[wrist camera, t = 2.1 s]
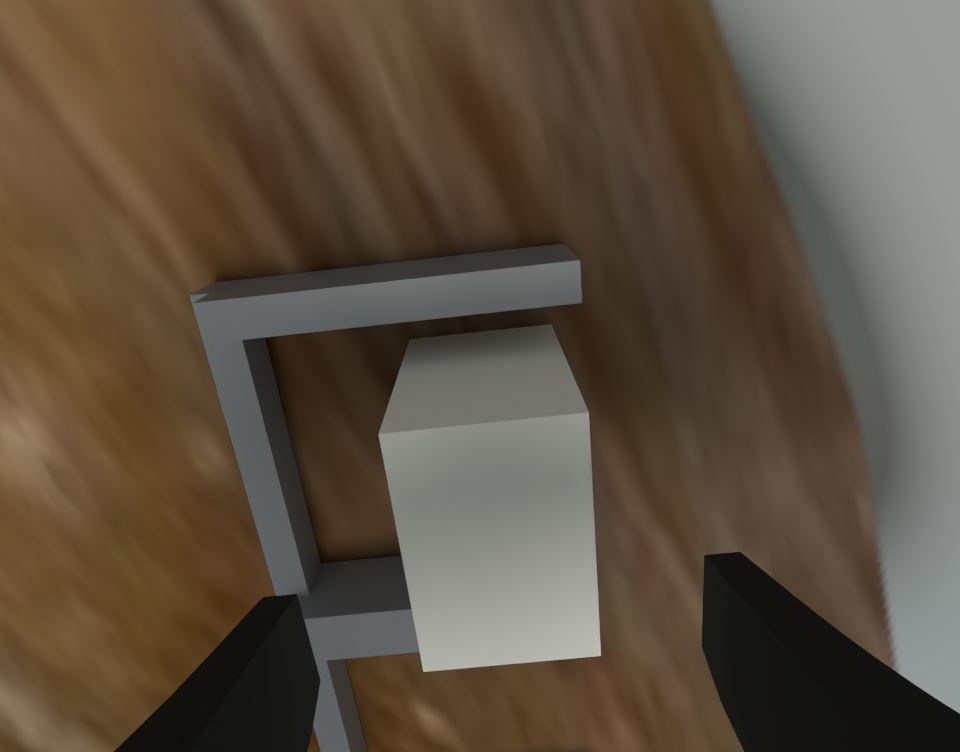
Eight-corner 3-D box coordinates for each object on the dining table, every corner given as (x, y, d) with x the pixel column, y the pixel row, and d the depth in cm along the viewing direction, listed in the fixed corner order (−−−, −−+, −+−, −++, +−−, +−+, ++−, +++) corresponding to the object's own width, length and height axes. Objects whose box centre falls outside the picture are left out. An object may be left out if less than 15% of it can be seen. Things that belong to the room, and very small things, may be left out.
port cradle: (352, 795, 24) (339, 867, 21) (214, 282, 16) (170, 305, 14) (596, 775, 23) (609, 845, 21) (564, 243, 16) (580, 260, 14)
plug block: (438, 517, 19) (423, 672, 14) (409, 338, 17) (378, 434, 12) (563, 505, 19) (600, 655, 14) (550, 323, 17) (588, 412, 11)
